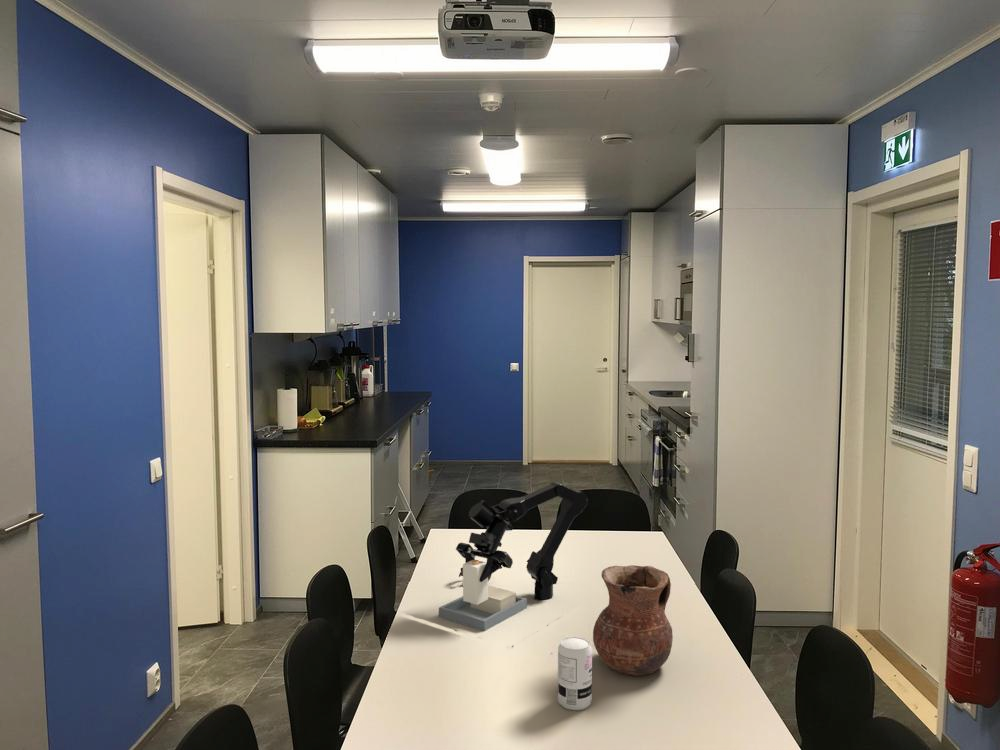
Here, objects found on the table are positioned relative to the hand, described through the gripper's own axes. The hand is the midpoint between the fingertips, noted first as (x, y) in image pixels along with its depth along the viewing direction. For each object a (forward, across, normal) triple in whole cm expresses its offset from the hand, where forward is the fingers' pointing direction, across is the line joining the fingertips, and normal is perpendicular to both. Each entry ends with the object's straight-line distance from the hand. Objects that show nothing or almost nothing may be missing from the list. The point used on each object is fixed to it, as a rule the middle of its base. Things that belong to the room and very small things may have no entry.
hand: (472, 579), depth 229 cm
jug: (+8, +52, +11) cm, 54 cm away
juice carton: (+4, 0, +6) cm, 7 cm away
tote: (+5, 0, +14) cm, 15 cm away
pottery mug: (-9, -19, +28) cm, 35 cm away
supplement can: (+27, +50, -8) cm, 57 cm away
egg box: (+1, 0, +17) cm, 17 cm away
